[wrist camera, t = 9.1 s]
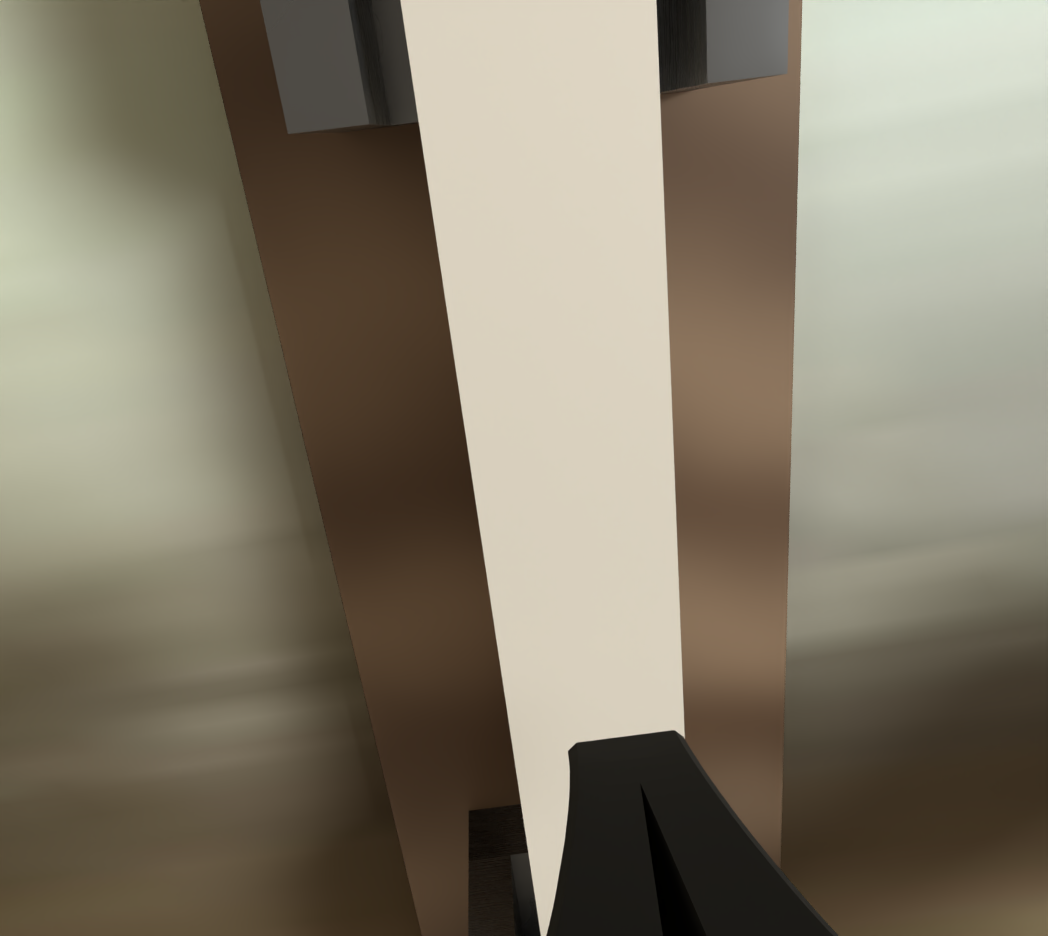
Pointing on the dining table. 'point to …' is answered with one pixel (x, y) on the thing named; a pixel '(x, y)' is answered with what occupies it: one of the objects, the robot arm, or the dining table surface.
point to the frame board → (442, 454)
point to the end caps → (388, 100)
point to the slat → (560, 365)
